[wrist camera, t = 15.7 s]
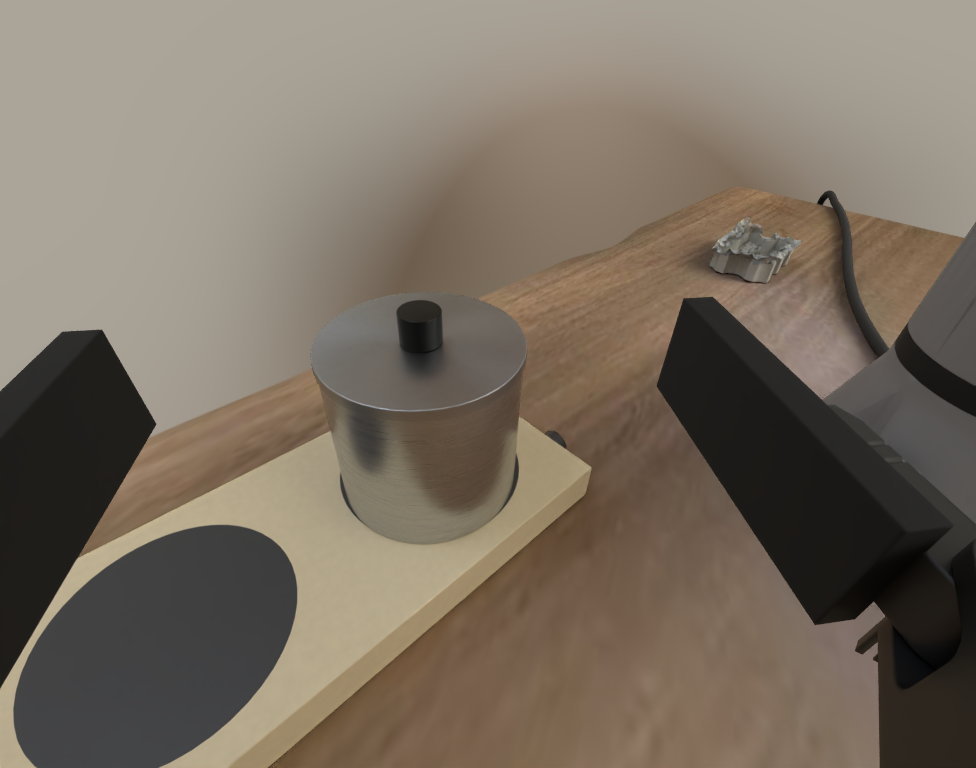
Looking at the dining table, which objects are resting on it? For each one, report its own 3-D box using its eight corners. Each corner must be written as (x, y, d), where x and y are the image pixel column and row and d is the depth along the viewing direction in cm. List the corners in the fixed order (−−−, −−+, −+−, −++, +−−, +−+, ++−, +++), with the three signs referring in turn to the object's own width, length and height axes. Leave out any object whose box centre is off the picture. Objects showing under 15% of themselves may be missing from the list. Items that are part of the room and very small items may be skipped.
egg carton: (736, 245, 63) (747, 214, 60) (796, 263, 59) (811, 231, 56) (698, 267, 57) (709, 233, 54) (762, 288, 53) (776, 253, 50)
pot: (451, 395, 33) (447, 249, 26) (550, 484, 27) (577, 322, 20) (315, 459, 28) (268, 298, 21) (400, 584, 22) (370, 414, 15)
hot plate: (462, 389, 37) (462, 363, 36) (595, 485, 30) (602, 458, 29) (-21, 651, 22) (-59, 625, 20) (11, 990, 14) (-45, 991, 13)
